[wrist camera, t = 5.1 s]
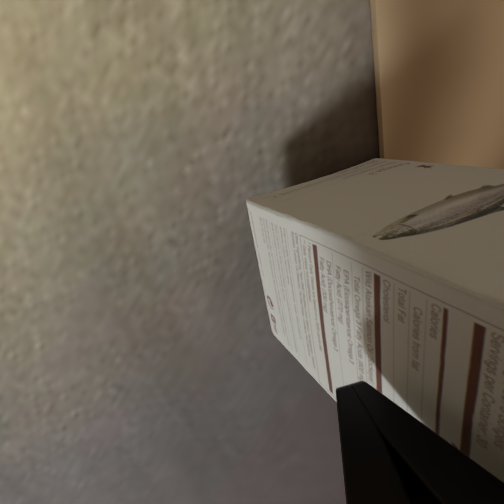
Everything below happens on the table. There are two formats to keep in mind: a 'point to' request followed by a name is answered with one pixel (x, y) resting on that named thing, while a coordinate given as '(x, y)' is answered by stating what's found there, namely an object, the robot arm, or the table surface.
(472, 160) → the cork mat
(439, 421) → the supplement box
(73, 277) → the table surface
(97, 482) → the table surface
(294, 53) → the table surface
